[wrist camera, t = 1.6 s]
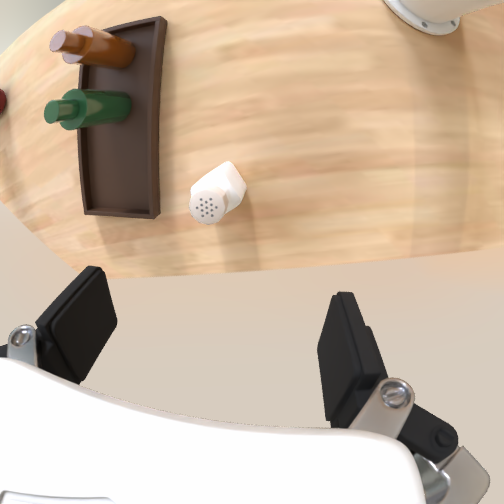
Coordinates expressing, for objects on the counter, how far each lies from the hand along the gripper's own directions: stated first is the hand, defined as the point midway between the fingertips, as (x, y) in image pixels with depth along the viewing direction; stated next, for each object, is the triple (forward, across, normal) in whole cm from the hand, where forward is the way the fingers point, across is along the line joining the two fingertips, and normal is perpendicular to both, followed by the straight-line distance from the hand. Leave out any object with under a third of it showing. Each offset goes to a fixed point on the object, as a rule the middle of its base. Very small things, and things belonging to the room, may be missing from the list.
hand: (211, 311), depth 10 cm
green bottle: (+22, +17, -9) cm, 30 cm away
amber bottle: (+22, +17, -16) cm, 32 cm away
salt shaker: (+23, +3, 0) cm, 23 cm away
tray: (+23, +17, -8) cm, 30 cm away
